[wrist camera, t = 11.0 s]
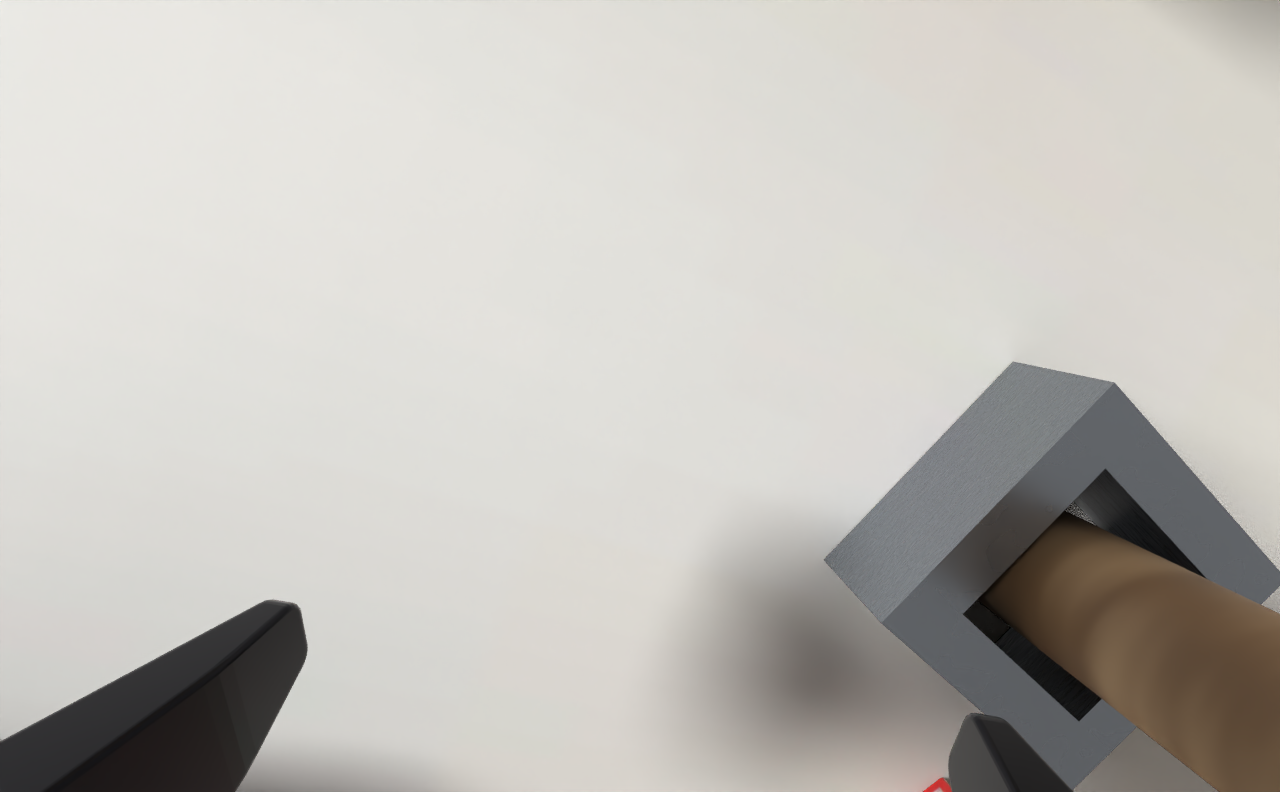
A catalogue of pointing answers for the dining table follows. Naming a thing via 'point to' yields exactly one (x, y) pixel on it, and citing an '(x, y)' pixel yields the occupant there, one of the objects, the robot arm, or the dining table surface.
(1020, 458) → the socket
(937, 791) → the stack of blocks
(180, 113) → the dining table surface
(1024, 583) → the peg
